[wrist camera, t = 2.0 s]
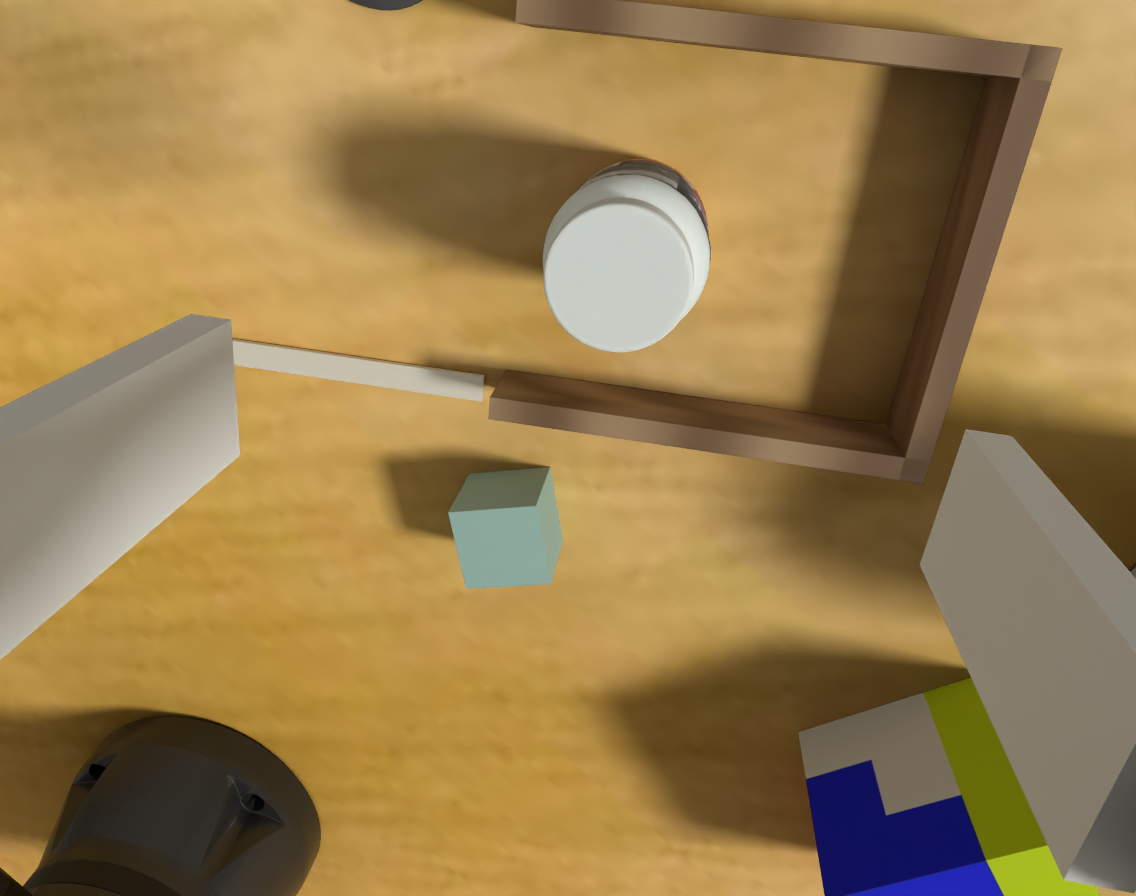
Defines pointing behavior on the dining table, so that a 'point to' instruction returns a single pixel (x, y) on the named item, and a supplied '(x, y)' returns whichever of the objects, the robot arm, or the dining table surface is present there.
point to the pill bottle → (627, 256)
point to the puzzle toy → (924, 804)
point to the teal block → (507, 528)
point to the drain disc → (387, 4)
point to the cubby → (951, 287)
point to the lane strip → (359, 370)
